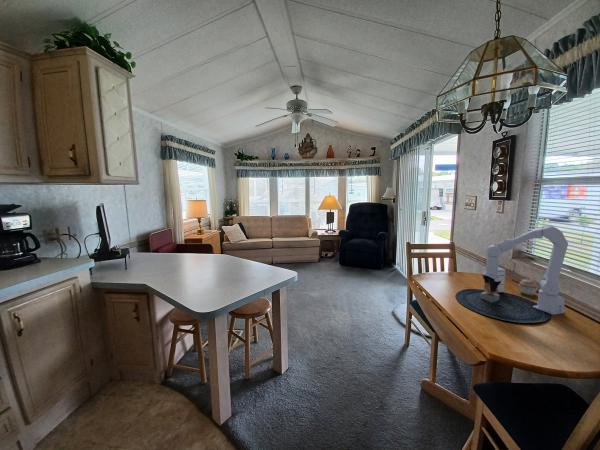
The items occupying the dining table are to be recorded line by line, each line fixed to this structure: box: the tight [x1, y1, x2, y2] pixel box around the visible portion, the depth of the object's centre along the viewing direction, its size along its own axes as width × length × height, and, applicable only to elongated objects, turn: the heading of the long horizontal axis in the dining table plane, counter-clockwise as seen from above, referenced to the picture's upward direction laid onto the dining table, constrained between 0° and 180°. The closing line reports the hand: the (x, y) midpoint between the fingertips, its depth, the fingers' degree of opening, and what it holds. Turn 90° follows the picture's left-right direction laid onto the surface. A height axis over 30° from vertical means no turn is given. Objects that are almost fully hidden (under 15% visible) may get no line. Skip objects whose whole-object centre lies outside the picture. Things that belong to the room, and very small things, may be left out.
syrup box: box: [498, 266, 506, 293], centre depth 159 cm, size 6×6×14 cm
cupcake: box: [517, 277, 539, 296], centre depth 154 cm, size 9×9×10 cm
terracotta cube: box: [483, 282, 499, 295], centre depth 147 cm, size 4×4×5 cm
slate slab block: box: [479, 291, 500, 304], centre depth 147 cm, size 6×6×4 cm
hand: (490, 289), depth 147 cm, fingers closed on terracotta cube, 6 cm apart
